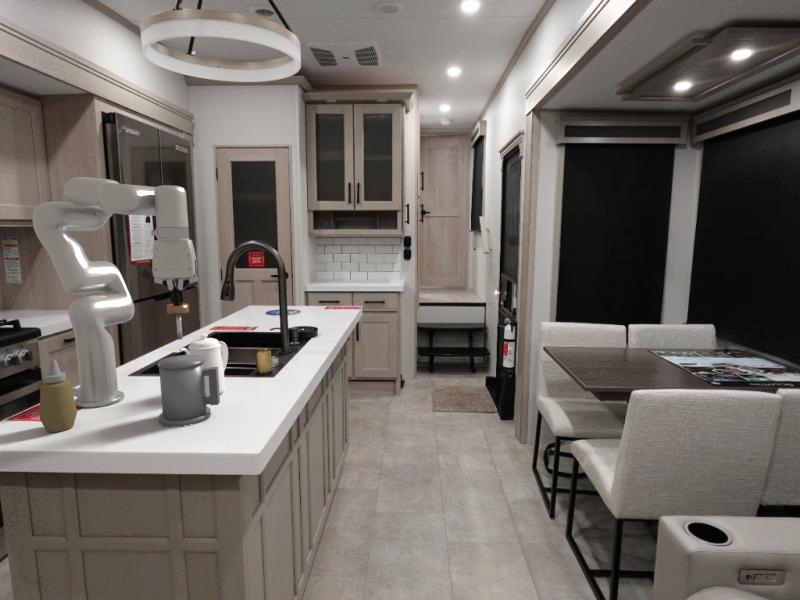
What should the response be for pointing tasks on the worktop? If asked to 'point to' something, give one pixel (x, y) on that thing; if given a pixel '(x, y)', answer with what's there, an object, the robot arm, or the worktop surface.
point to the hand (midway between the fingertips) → (178, 304)
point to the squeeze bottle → (57, 401)
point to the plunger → (178, 315)
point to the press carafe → (186, 390)
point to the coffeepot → (210, 357)
